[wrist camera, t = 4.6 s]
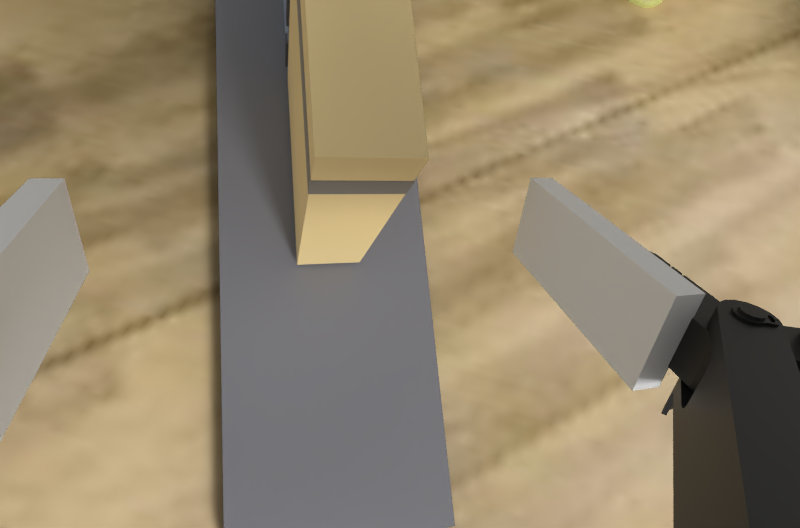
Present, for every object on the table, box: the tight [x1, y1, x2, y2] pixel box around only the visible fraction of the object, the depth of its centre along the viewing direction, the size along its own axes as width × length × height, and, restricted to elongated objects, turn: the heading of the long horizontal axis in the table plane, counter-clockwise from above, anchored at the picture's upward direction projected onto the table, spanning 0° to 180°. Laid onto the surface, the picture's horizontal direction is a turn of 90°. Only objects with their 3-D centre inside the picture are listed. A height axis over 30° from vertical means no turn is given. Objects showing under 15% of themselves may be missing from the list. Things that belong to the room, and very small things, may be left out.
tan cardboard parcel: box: [288, 0, 429, 265], centre depth 19 cm, size 10×3×12 cm, turn 6°
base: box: [215, 0, 455, 528], centre depth 26 cm, size 36×10×2 cm, turn 6°
